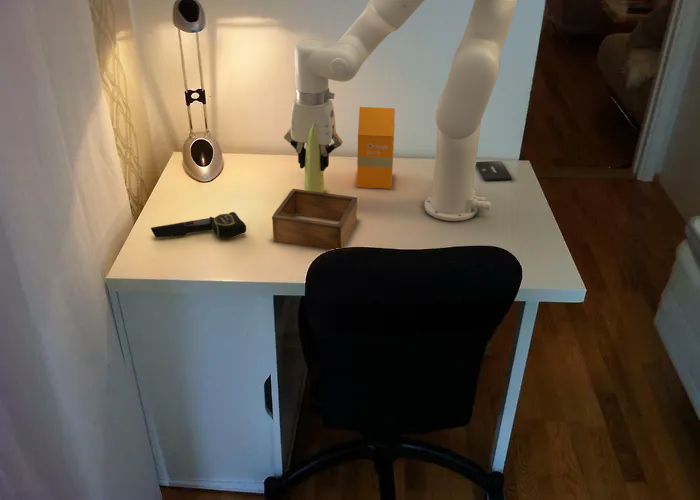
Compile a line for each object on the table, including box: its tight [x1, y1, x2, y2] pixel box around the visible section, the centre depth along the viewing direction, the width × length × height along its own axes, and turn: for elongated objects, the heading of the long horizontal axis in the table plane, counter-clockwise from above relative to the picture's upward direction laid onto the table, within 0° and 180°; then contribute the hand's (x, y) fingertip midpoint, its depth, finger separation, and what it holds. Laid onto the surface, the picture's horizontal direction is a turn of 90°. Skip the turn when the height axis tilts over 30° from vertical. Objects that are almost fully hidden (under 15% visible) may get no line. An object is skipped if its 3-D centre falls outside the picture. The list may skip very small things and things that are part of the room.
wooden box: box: [271, 188, 358, 251], centre depth 157 cm, size 16×14×6 cm
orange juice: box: [356, 106, 396, 190], centre depth 174 cm, size 8×9×20 cm
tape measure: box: [211, 211, 247, 239], centre depth 156 cm, size 7×7×4 cm
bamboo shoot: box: [303, 123, 325, 193], centre depth 168 cm, size 6×5×20 cm
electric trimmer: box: [150, 216, 215, 238], centre depth 157 cm, size 4×16×3 cm, turn 108°
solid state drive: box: [476, 160, 513, 182], centre depth 185 cm, size 7×10×1 cm
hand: (313, 166), depth 170 cm, fingers closed on bamboo shoot, 4 cm apart
